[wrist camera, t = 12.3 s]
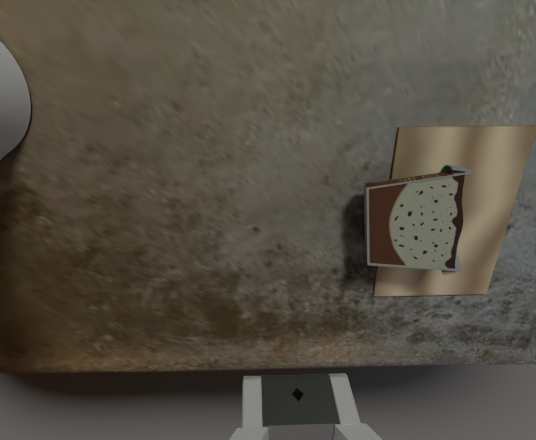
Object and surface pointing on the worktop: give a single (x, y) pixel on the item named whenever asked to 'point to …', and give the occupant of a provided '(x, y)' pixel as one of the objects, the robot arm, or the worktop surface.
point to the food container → (416, 221)
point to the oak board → (473, 200)
